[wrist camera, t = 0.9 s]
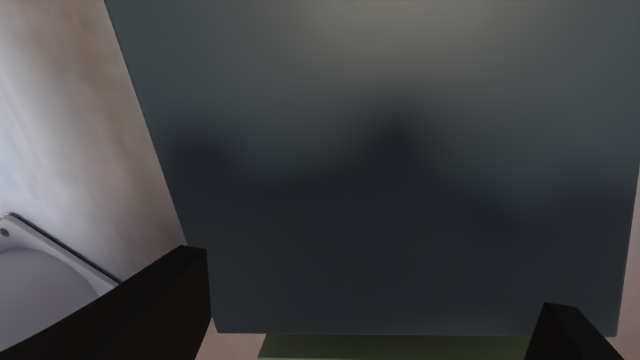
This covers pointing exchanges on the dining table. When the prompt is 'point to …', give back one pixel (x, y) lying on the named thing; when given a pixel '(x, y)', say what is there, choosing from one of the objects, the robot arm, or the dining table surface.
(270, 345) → the drawer
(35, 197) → the dining table surface
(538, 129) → the cabinet
